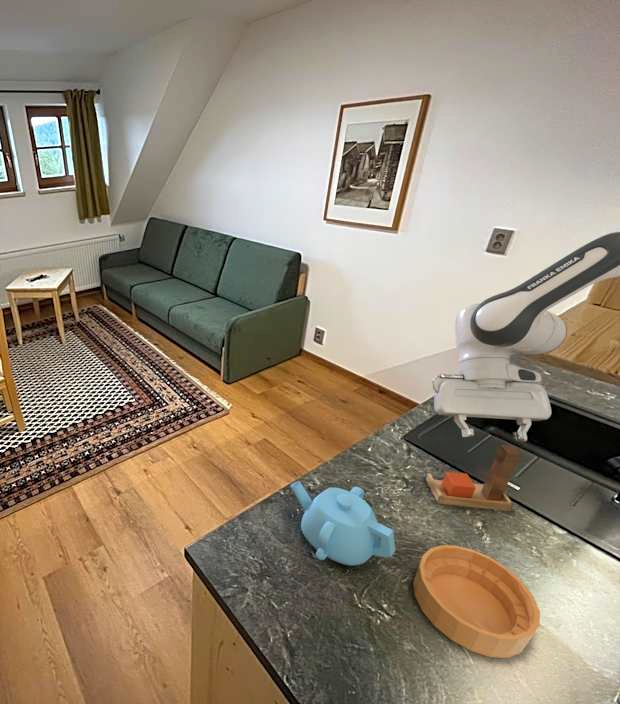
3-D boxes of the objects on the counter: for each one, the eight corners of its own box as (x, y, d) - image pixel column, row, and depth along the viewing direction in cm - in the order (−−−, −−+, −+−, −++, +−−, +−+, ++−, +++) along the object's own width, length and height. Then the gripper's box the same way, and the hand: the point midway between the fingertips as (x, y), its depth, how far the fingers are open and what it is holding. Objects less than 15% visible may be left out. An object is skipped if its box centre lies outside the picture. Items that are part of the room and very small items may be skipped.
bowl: (463, 556, 74) (472, 536, 72) (553, 643, 61) (567, 622, 59) (392, 576, 72) (398, 557, 69) (469, 672, 59) (480, 652, 56)
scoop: (425, 480, 91) (440, 433, 84) (491, 487, 88) (512, 438, 81) (437, 505, 85) (454, 456, 78) (509, 512, 82) (533, 462, 75)
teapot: (404, 544, 77) (418, 501, 72) (368, 606, 68) (381, 562, 62) (307, 490, 91) (312, 450, 86) (266, 535, 81) (269, 494, 76)
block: (441, 484, 89) (445, 471, 87) (461, 486, 88) (467, 473, 86) (448, 499, 85) (453, 485, 83) (470, 501, 84) (476, 487, 82)
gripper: (438, 369, 88) (445, 433, 84) (550, 374, 83) (563, 441, 79) (425, 376, 93) (431, 436, 89) (529, 381, 89) (540, 444, 85)
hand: (494, 439), depth 84 cm, fingers open, 8 cm apart
